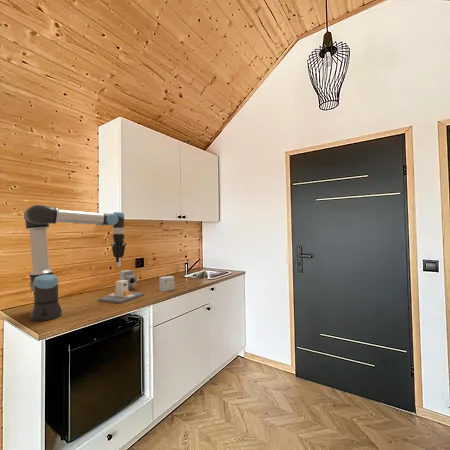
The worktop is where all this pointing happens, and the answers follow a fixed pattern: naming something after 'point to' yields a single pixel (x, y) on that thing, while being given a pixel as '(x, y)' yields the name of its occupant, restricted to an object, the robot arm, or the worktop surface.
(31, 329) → the worktop surface
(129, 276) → the circuit breaker
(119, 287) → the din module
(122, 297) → the din rail board
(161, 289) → the light bulb box
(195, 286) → the worktop surface
